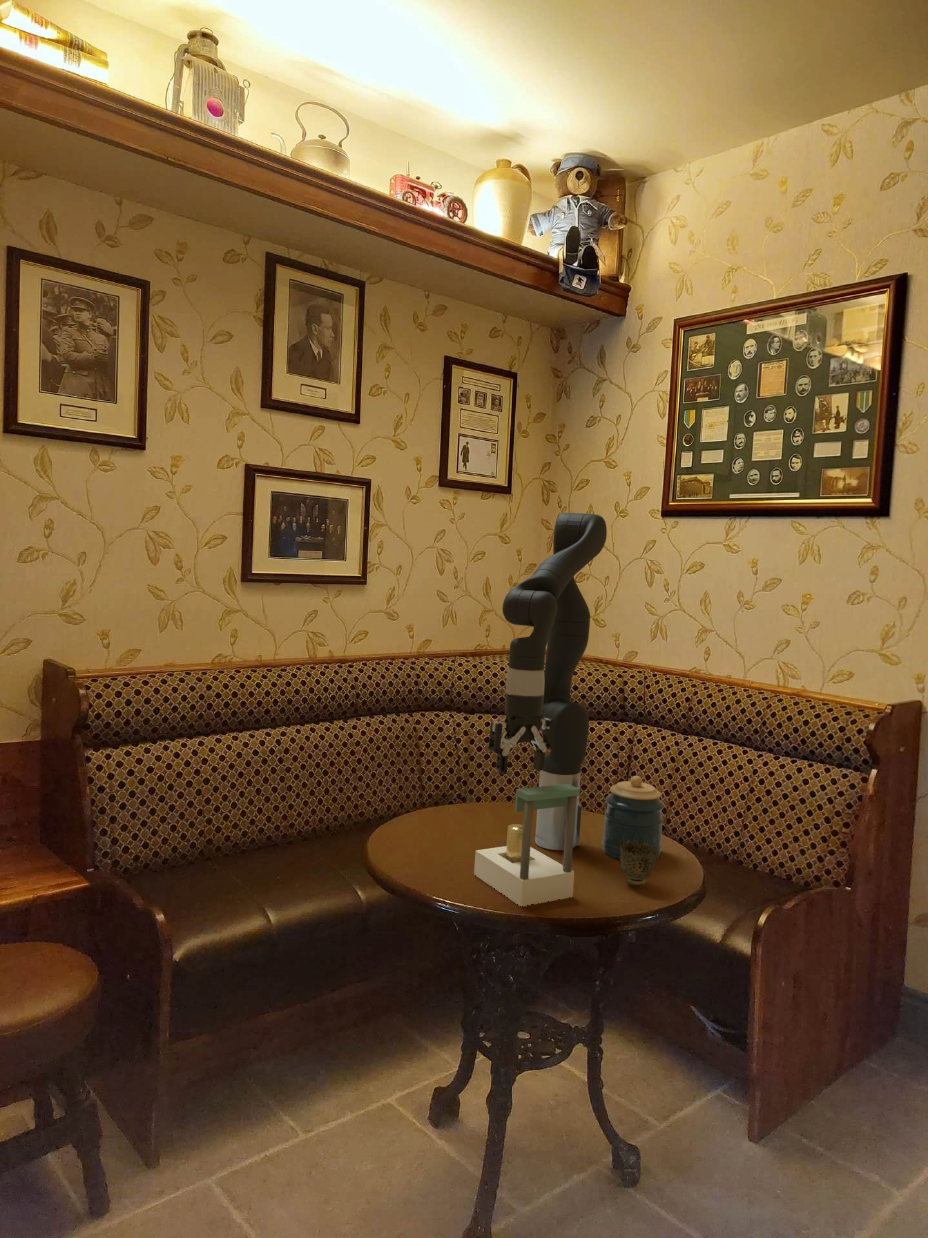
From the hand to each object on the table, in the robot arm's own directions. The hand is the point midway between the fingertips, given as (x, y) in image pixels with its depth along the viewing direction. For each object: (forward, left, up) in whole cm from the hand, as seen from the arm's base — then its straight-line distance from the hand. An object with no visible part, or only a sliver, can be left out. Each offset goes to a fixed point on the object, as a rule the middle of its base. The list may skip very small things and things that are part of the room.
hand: (520, 771), depth 167 cm
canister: (-34, -3, -22) cm, 41 cm away
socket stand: (0, +3, -22) cm, 22 cm away
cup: (-22, +12, -22) cm, 34 cm away
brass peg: (0, 0, -21) cm, 21 cm away
